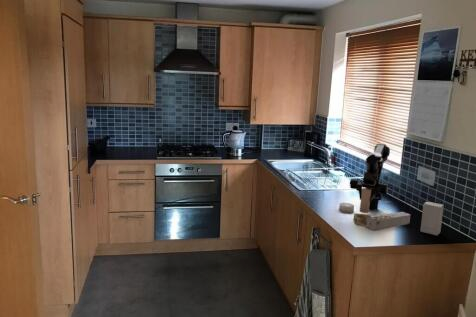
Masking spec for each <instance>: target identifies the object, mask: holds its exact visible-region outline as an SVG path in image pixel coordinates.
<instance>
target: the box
mask: <svg viewBox="0 0 476 317" xmlns="http://www.w3.org/2000/svg"><path fill="white" fill-rule="evenodd" d="M410 221H411V214H410V213H407V212H404V211H399V212H392V213H388V214H387V213H385V214H380V215H374V216H371V217H367V224H366V225H365V228H367V229H369V230H372V231H378V230H383V229H388V228H395V227H399V226H404V225H410Z"/></svg>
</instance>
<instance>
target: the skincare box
mask: <svg viewBox="0 0 476 317" xmlns="http://www.w3.org/2000/svg"><path fill="white" fill-rule="evenodd" d="M421 213H422V214H421V222H420V232H422V233H426V234H429V235H433V236H439V234H440V233H441V229H442V223H443V222H442V221H443V213H444V204H441V203H438V202H437V203H435V202H430V201H426V202H424V203H423V205H422V212H421Z"/></svg>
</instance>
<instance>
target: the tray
mask: <svg viewBox="0 0 476 317" xmlns="http://www.w3.org/2000/svg"><path fill="white" fill-rule="evenodd" d="M353 213H354V212H353ZM367 217H372V215H371V214H367V213H354V214H353V221H354V225H355V224H356V225H361V226H366V224H367Z"/></svg>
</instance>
